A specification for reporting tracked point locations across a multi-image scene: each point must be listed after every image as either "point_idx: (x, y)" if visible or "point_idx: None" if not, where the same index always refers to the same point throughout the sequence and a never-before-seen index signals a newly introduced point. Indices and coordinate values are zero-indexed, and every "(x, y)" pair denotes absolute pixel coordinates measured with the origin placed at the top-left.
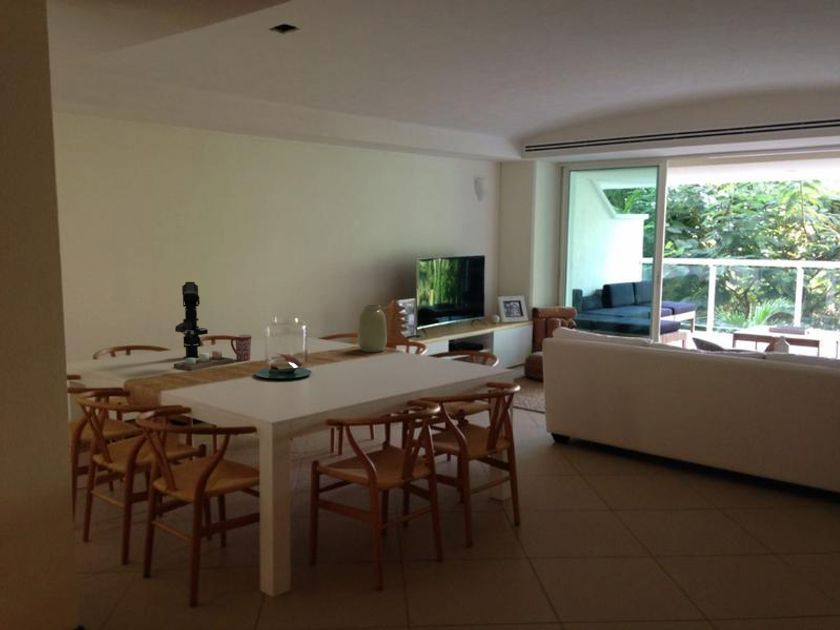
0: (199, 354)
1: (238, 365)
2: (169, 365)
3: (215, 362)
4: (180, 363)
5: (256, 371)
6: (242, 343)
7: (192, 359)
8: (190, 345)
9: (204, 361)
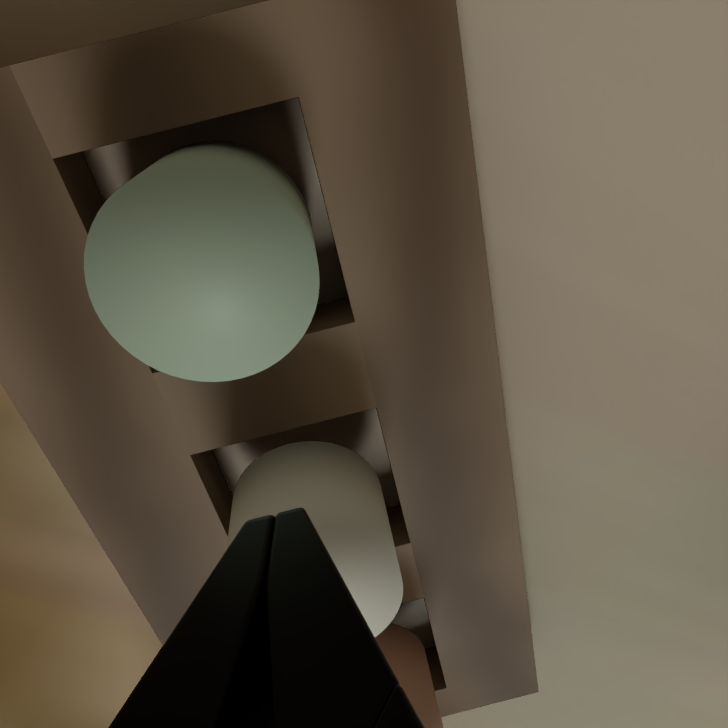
0: (318, 528)
1: (33, 716)
2: (668, 16)
3: (125, 580)
4: (374, 99)
5: None
6: None
7: (85, 277)
8: (286, 525)
9: (236, 489)
